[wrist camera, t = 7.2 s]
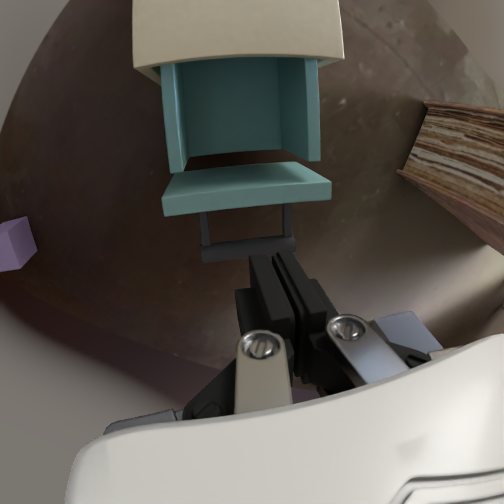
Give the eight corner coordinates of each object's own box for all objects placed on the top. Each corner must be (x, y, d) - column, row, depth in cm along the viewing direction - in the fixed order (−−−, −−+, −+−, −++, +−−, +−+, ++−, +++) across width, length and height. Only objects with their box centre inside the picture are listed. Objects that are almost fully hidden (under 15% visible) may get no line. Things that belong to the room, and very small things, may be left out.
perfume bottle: (398, 344, 40) (456, 430, 24) (363, 353, 39) (417, 451, 23) (411, 310, 37) (482, 400, 21) (373, 319, 36) (443, 423, 20)
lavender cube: (13, 254, 24) (-4, 272, 21) (3, 222, 22) (-17, 237, 19) (37, 250, 25) (20, 268, 21) (27, 215, 23) (7, 231, 19)
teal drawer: (296, 226, 27) (327, 266, 20) (184, 238, 26) (177, 286, 19) (289, 37, 19) (324, 10, 12) (163, 44, 18) (145, 15, 11)
